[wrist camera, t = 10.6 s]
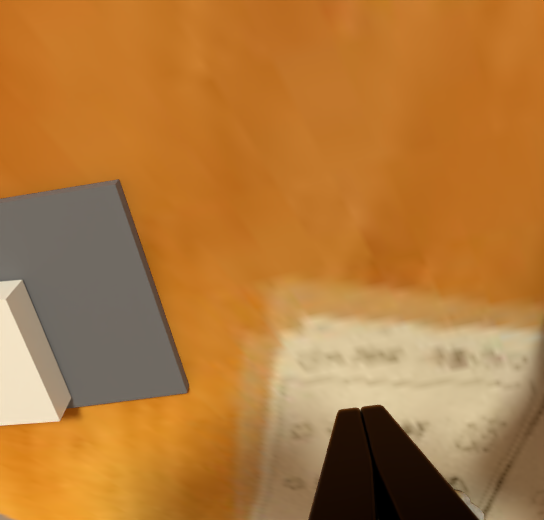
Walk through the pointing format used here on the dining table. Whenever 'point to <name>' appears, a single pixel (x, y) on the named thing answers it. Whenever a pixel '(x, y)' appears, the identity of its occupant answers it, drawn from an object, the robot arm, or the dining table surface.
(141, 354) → the mat
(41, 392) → the tile
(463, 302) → the dining table surface
